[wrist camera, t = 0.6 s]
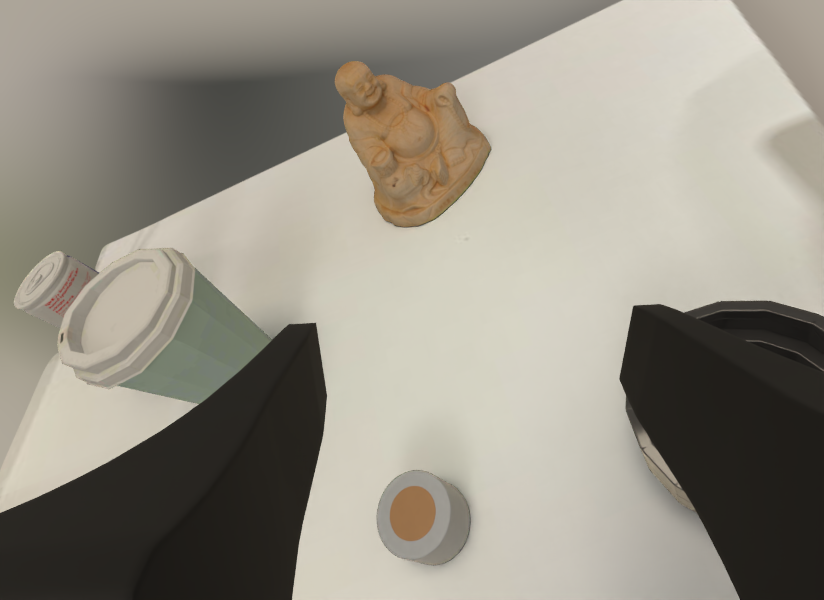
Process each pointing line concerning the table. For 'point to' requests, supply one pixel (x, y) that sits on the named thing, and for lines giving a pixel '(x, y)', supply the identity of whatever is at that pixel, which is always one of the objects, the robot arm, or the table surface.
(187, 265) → the disposable coffee cup
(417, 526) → the tape
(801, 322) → the bowl
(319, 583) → the table surface
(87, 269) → the beverage can
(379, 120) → the statue
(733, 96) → the table surface
